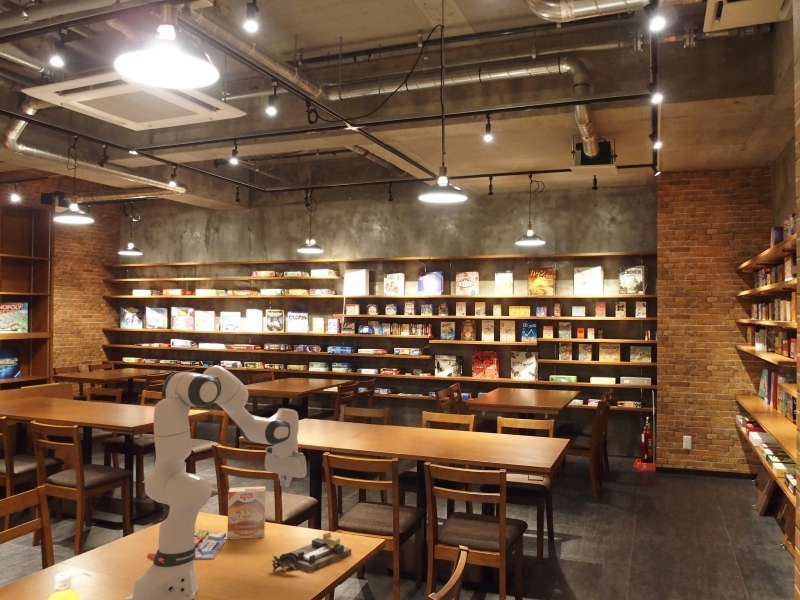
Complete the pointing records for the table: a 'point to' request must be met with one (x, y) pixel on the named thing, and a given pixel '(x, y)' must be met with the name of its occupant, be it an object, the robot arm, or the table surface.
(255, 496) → the coffeecake box
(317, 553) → the bar
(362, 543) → the table surface
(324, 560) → the base
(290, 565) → the eagle figurine
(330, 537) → the brass bolt
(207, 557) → the puzzle board
